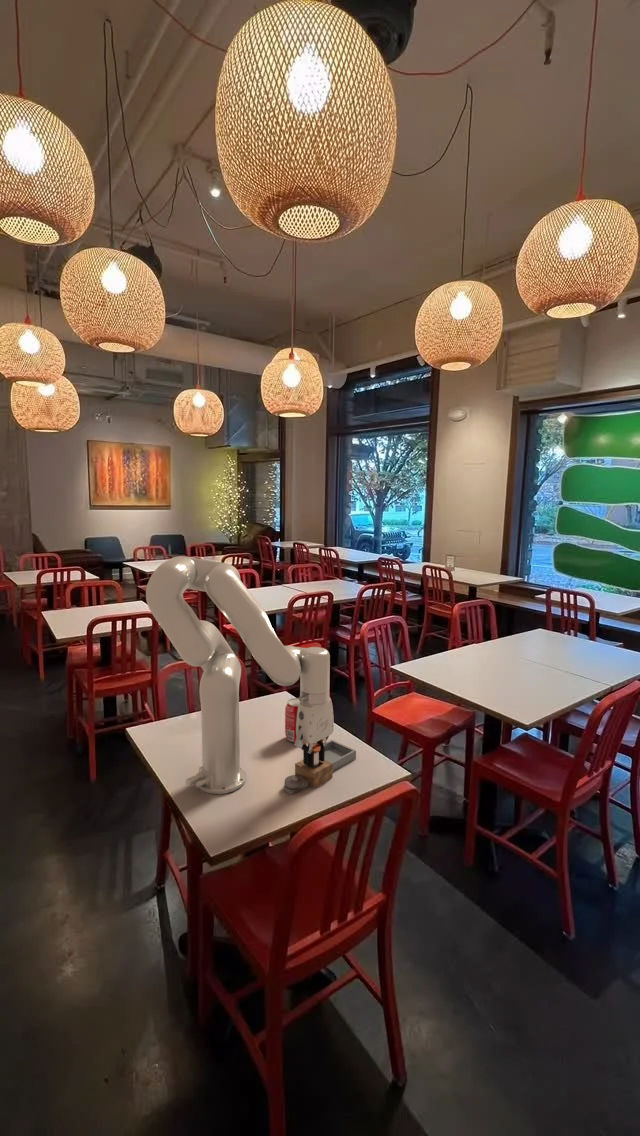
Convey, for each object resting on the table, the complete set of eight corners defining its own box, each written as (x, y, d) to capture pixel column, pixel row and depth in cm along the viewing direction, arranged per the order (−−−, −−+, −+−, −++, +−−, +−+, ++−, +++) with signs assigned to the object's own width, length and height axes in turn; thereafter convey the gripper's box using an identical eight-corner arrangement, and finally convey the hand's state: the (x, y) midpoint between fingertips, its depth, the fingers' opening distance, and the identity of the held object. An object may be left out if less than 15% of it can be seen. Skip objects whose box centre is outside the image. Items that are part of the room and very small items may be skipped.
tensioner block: (297, 798, 125) (297, 783, 124) (278, 786, 130) (278, 772, 129) (332, 777, 134) (332, 763, 134) (313, 768, 139) (313, 754, 138)
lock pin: (313, 782, 132) (314, 750, 130) (304, 777, 134) (304, 745, 133) (322, 777, 134) (323, 745, 133) (313, 773, 136) (314, 741, 135)
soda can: (309, 734, 159) (309, 697, 157) (306, 745, 152) (306, 707, 150) (287, 733, 159) (287, 696, 158) (283, 743, 153) (283, 705, 151)
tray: (329, 773, 136) (329, 765, 136) (305, 761, 142) (305, 753, 142) (355, 758, 144) (356, 750, 144) (331, 747, 150) (332, 739, 150)
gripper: (302, 709, 123) (301, 780, 125) (346, 691, 134) (345, 756, 137) (281, 700, 128) (281, 768, 130) (325, 683, 140) (324, 746, 142)
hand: (313, 761), depth 133 cm, fingers closed on lock pin, 3 cm apart
